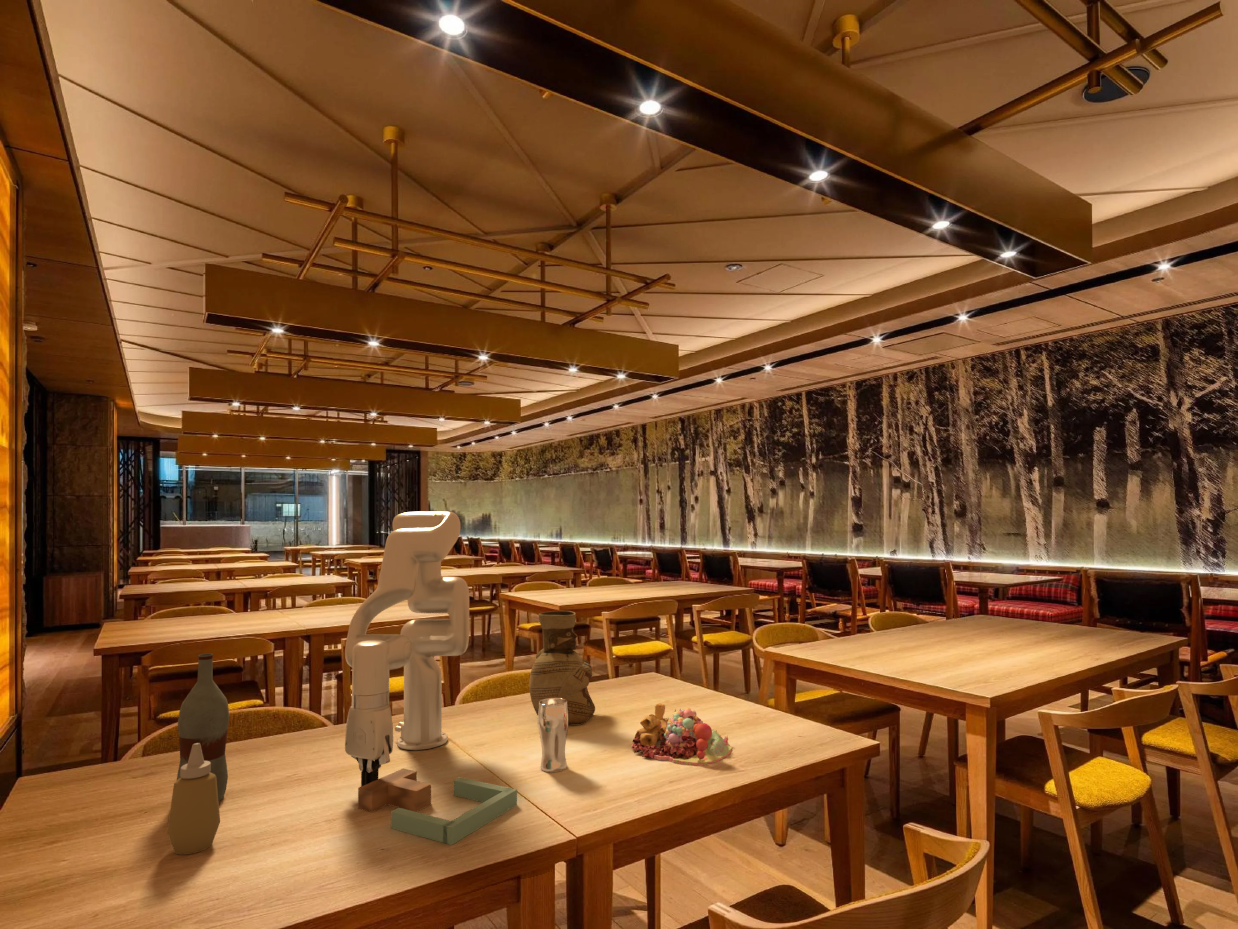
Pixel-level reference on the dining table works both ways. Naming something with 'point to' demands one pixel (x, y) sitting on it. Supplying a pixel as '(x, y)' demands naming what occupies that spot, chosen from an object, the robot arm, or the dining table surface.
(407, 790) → the t block
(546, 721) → the beer glass
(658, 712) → the pastel sphere sculpture
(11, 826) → the dining table surface
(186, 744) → the vodka
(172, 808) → the squeeze bottle
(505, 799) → the frame
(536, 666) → the ceramic vessel
